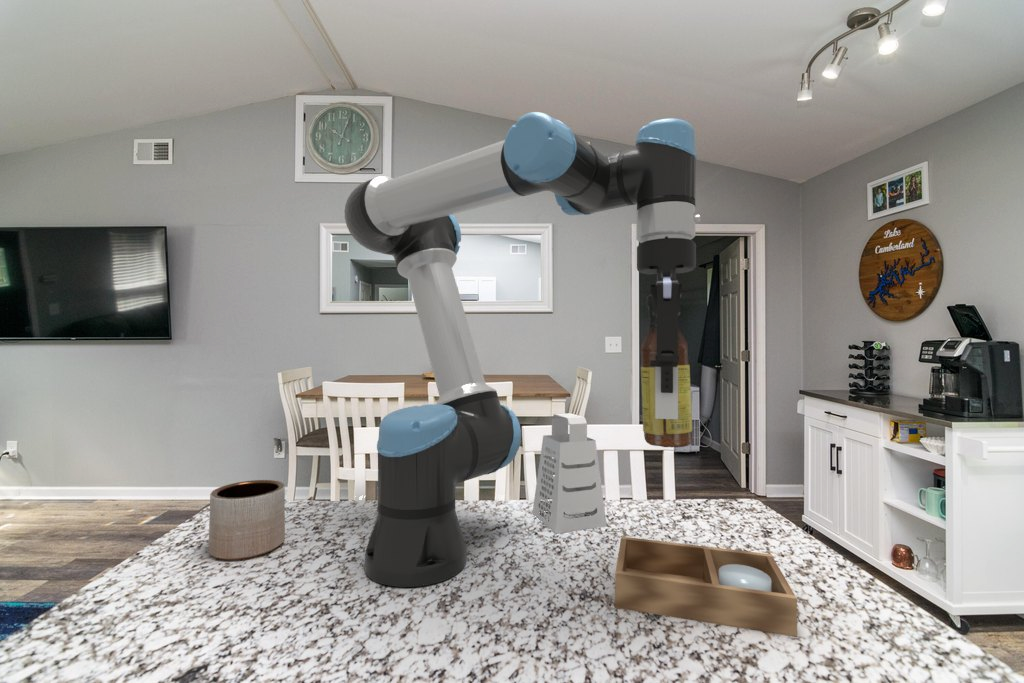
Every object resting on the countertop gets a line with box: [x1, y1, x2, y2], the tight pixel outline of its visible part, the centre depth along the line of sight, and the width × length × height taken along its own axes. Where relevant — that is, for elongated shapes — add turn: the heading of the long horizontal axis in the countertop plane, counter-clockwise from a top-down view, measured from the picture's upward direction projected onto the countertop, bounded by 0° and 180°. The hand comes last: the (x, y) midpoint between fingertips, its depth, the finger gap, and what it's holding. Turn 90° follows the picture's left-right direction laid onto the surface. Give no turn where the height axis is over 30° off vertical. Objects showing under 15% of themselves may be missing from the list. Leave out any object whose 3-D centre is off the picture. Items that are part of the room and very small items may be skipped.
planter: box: [208, 479, 286, 561], centre depth 78 cm, size 11×11×10 cm
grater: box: [531, 412, 608, 535], centre depth 91 cm, size 10×10×20 cm
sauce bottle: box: [640, 294, 693, 448], centre depth 63 cm, size 6×6×20 cm
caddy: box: [614, 536, 798, 638], centre depth 62 cm, size 20×12×5 cm, turn 73°
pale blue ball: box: [719, 564, 771, 592], centre depth 60 cm, size 6×6×4 cm
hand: (665, 414), depth 63 cm, fingers closed on sauce bottle, 6 cm apart
